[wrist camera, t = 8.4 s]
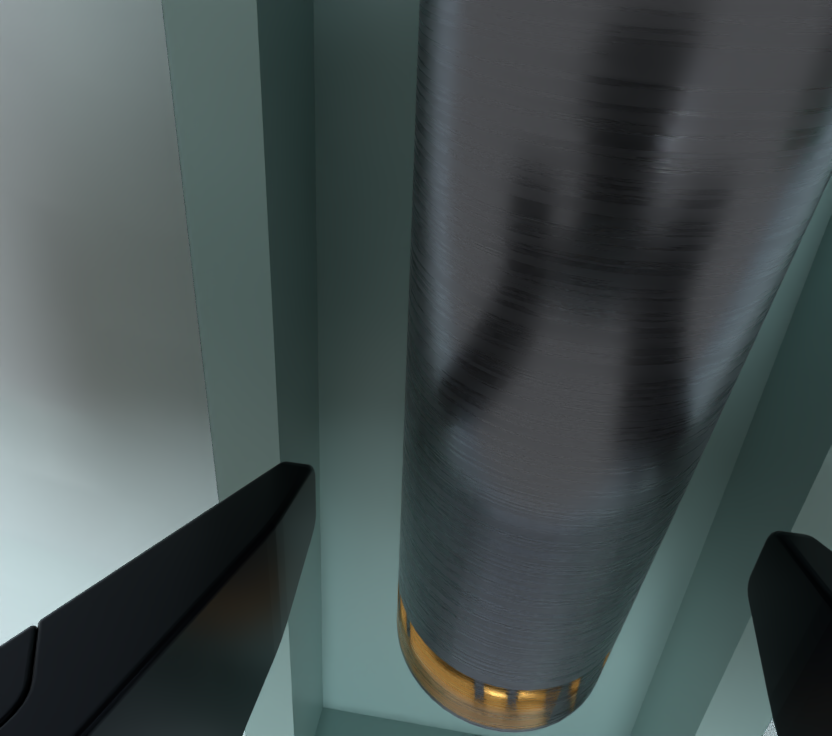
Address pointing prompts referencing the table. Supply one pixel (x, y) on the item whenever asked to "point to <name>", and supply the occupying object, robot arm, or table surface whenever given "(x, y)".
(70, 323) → the table surface
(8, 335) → the table surface
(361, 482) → the tray
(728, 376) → the dark grey cylinder
